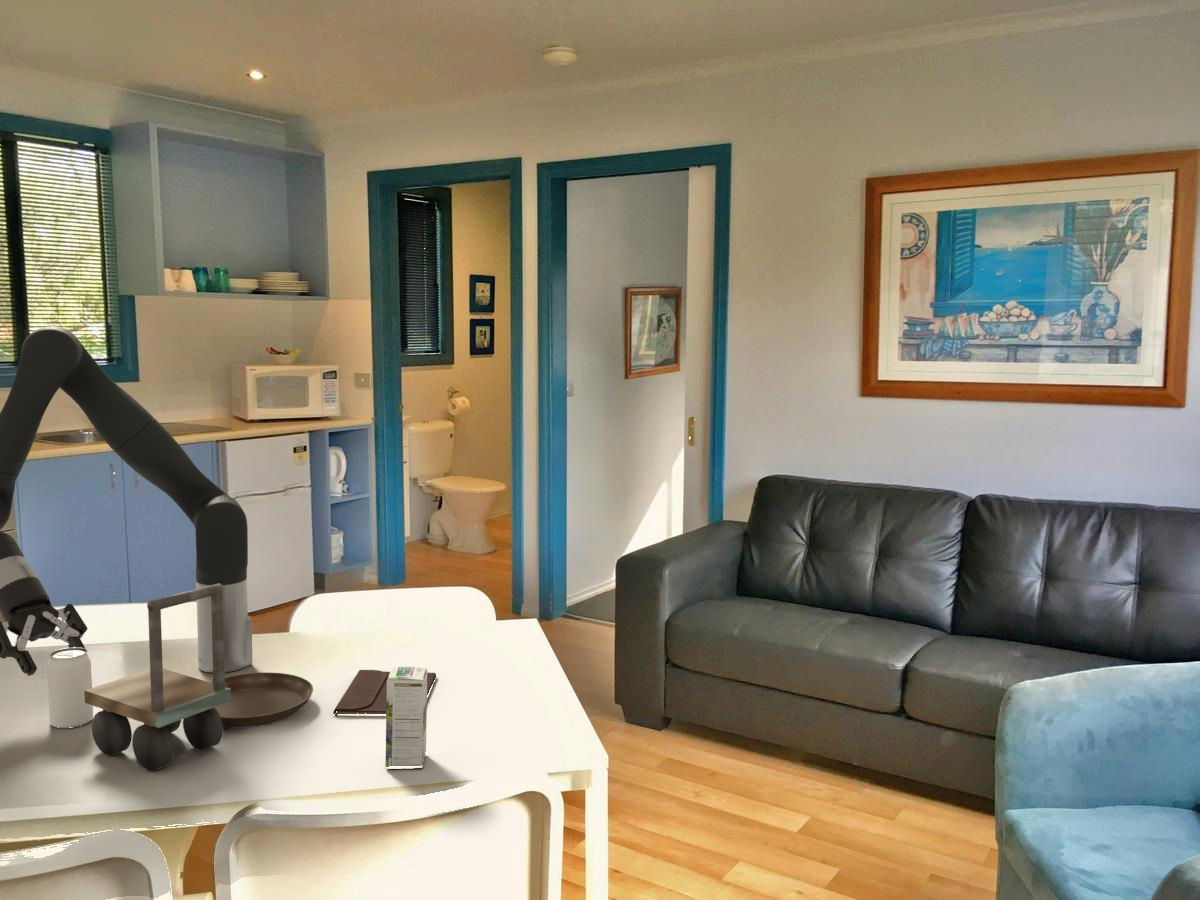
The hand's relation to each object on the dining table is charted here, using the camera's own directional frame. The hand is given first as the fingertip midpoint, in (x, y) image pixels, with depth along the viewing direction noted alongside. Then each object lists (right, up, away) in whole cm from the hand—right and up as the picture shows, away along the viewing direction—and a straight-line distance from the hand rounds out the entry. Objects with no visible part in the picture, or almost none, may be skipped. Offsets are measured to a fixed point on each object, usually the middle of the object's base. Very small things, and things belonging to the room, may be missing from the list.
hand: (58, 665), depth 173 cm
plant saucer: (+30, -10, +7) cm, 32 cm away
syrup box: (+61, -12, -13) cm, 63 cm away
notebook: (+52, -9, +15) cm, 55 cm away
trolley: (+21, -11, -11) cm, 26 cm away
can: (+2, -10, 0) cm, 10 cm away
